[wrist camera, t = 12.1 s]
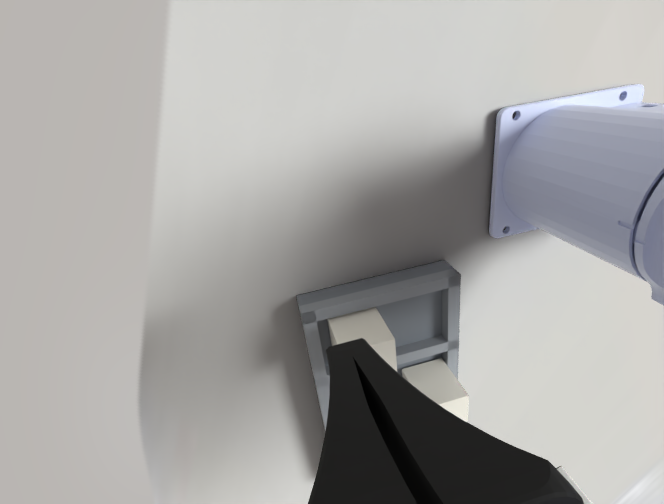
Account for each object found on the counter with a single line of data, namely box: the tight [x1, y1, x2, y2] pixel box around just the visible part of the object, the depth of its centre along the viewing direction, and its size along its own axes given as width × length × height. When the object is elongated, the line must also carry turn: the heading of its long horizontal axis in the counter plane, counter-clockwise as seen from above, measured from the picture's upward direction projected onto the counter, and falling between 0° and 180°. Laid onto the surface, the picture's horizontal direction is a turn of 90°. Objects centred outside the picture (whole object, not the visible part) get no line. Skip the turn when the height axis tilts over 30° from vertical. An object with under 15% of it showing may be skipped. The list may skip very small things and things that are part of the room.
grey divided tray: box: [296, 260, 461, 432], centre depth 27 cm, size 10×17×2 cm, turn 8°
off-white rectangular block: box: [327, 307, 397, 371], centre depth 22 cm, size 3×3×4 cm
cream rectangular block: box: [402, 358, 469, 423], centre depth 25 cm, size 3×3×4 cm
